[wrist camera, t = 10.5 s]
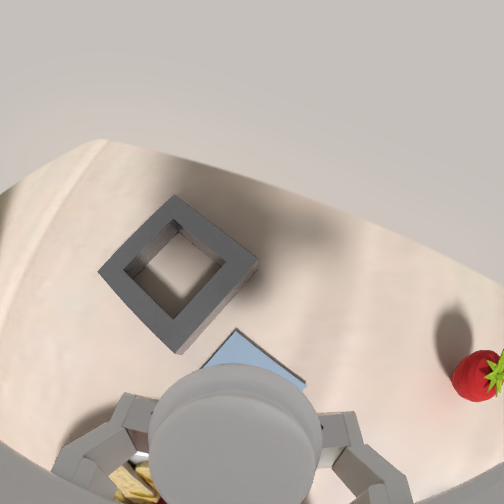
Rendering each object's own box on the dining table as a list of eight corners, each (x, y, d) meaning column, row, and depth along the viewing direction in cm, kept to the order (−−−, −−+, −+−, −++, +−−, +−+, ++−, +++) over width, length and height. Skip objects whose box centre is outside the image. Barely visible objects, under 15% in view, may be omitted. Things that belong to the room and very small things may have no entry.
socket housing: (109, 280, 29) (97, 271, 26) (179, 208, 33) (174, 194, 30) (181, 355, 26) (174, 353, 24) (257, 269, 30) (258, 259, 28)
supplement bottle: (245, 345, 16) (248, 311, 6) (306, 414, 14) (391, 465, 5) (171, 401, 14) (77, 433, 5) (232, 469, 13) (220, 574, 3)
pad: (178, 395, 25) (177, 396, 24) (235, 331, 28) (235, 330, 27) (248, 450, 23) (248, 451, 22) (305, 385, 25) (306, 385, 25)
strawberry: (436, 352, 27) (494, 338, 17) (474, 359, 26) (529, 346, 17) (427, 400, 24) (485, 401, 15) (467, 402, 24) (522, 400, 14)
